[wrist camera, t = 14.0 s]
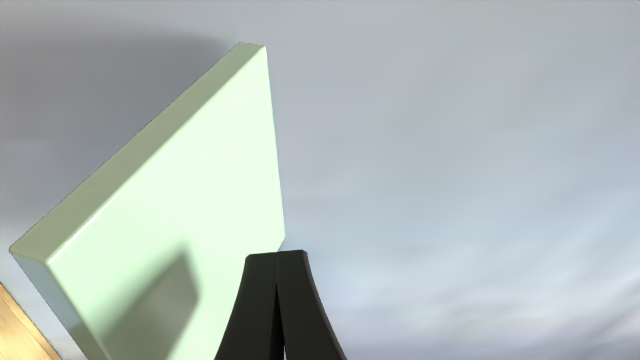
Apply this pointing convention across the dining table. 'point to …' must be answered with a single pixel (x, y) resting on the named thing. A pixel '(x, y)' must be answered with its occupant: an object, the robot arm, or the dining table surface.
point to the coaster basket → (20, 334)
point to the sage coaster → (166, 223)
